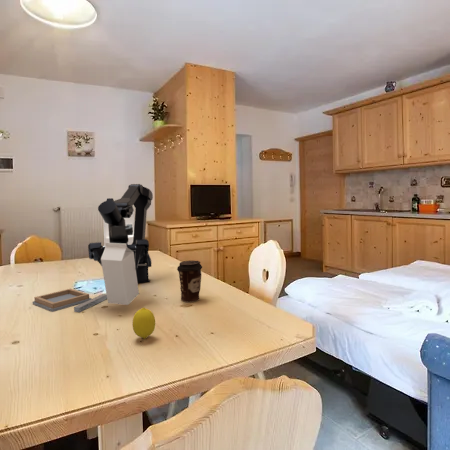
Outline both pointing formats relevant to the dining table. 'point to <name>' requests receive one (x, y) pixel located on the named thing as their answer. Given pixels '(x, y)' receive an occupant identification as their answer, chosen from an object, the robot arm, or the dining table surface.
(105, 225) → the white tall block
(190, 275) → the coffee cup
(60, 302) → the brown and grey tray
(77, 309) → the steel rail
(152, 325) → the lemon
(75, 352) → the dining table surface
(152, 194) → the robot arm
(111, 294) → the milk carton
